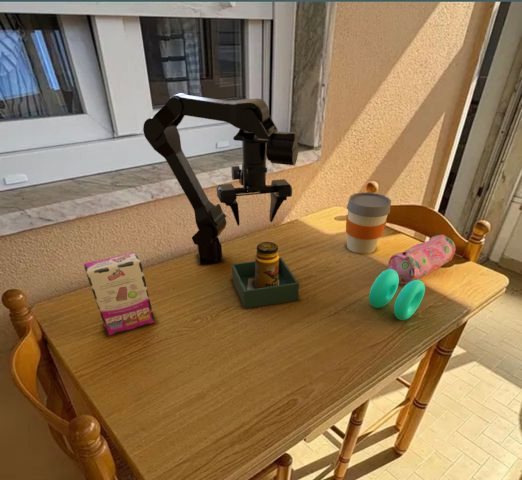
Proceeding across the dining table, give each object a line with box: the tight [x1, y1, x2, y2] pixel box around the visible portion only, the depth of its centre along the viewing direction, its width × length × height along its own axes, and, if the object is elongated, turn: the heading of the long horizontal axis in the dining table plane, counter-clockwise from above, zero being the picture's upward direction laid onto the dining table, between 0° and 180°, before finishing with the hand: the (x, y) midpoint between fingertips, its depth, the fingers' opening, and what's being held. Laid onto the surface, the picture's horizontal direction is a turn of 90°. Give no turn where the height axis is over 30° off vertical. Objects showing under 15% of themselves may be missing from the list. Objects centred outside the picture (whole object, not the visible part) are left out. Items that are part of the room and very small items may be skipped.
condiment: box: [247, 241, 280, 290], centre depth 97 cm, size 7×8×12 cm
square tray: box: [230, 257, 300, 309], centre depth 100 cm, size 14×14×5 cm
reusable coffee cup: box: [345, 192, 392, 255], centre depth 116 cm, size 13×13×15 cm
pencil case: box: [387, 234, 456, 285], centre depth 106 cm, size 21×9×9 cm, turn 127°
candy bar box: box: [83, 252, 156, 336], centre depth 85 cm, size 11×5×16 cm, turn 117°
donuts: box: [368, 268, 426, 321], centre depth 92 cm, size 10×10×10 cm
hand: (254, 223), depth 103 cm, fingers open, 9 cm apart
